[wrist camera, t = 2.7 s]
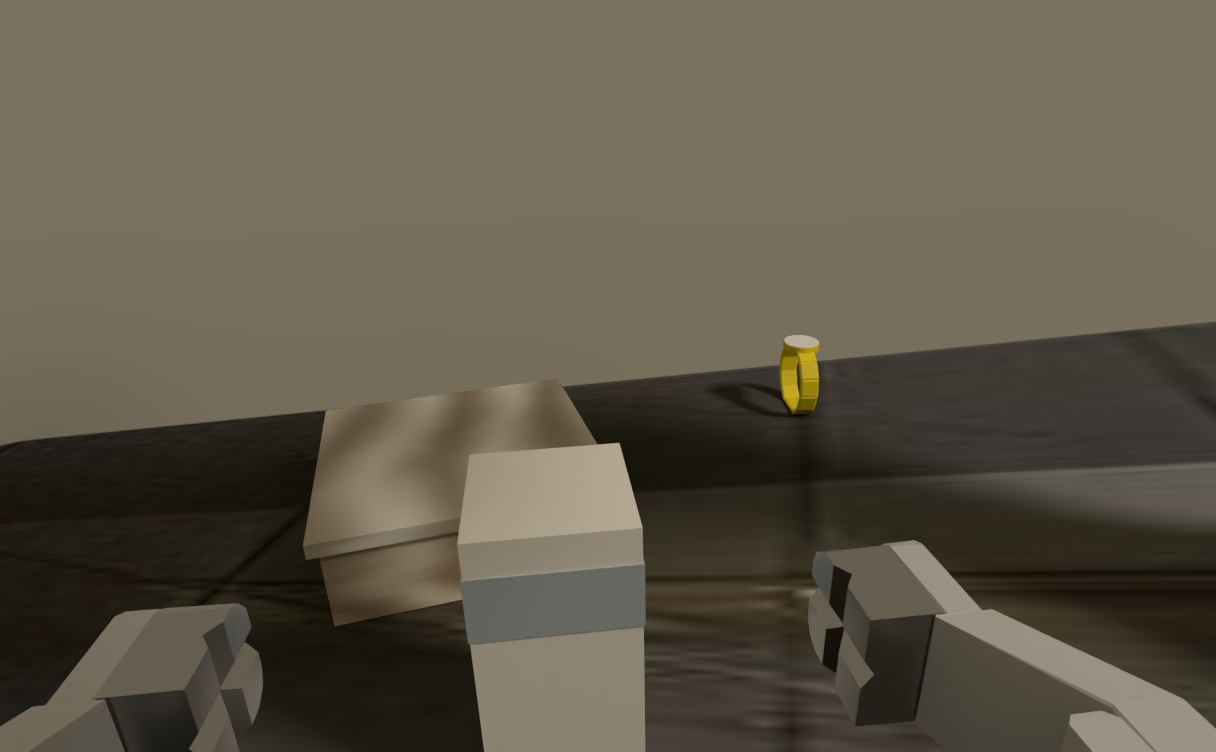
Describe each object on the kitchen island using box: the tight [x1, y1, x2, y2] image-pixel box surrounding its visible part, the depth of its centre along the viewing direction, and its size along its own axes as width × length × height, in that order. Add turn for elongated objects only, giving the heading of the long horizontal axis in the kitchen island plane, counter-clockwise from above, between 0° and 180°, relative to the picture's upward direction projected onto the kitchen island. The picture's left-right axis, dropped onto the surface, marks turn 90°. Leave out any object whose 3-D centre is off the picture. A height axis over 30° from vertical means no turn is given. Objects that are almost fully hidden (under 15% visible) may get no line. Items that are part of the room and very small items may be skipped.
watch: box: [780, 335, 819, 415], centre depth 58 cm, size 6×3×6 cm, turn 3°
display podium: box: [303, 379, 597, 626], centre depth 44 cm, size 16×16×5 cm
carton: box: [457, 443, 646, 752], centre depth 26 cm, size 6×6×13 cm
